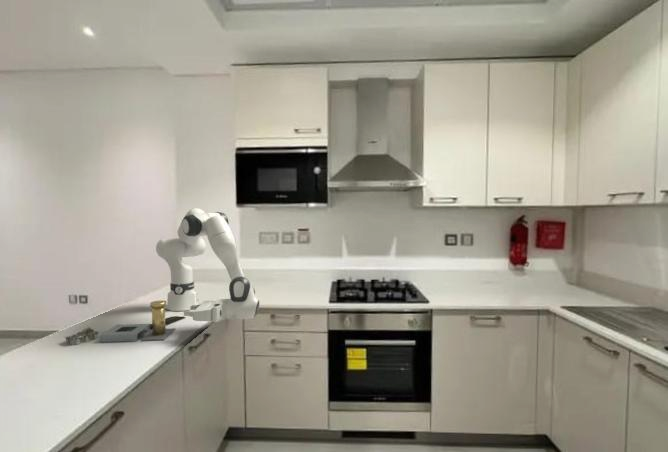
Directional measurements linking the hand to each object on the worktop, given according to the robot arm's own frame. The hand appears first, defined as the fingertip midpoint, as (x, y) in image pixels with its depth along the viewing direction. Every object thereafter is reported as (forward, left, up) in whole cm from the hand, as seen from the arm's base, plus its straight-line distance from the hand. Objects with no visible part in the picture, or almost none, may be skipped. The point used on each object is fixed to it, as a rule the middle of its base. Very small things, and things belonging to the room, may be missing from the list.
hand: (187, 310), depth 157 cm
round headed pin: (0, -12, -10) cm, 15 cm away
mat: (0, -12, -10) cm, 16 cm away
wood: (-18, -16, -11) cm, 26 cm away
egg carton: (+3, -41, -11) cm, 42 cm away
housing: (0, -25, -10) cm, 27 cm away
